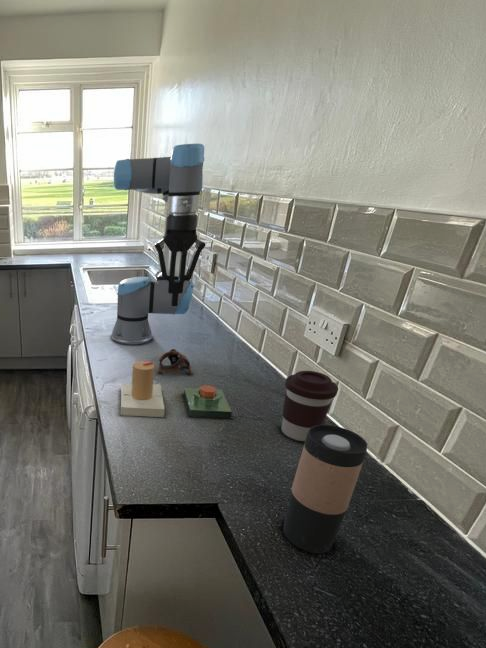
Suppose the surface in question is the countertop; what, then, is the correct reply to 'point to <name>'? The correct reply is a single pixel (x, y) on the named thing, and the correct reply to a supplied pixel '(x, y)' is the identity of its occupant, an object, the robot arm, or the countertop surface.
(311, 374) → the coffee cup
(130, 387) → the panel
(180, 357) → the brown arched frame
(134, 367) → the knob
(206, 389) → the button
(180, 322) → the countertop surface
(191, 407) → the button box
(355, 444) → the travel mug
